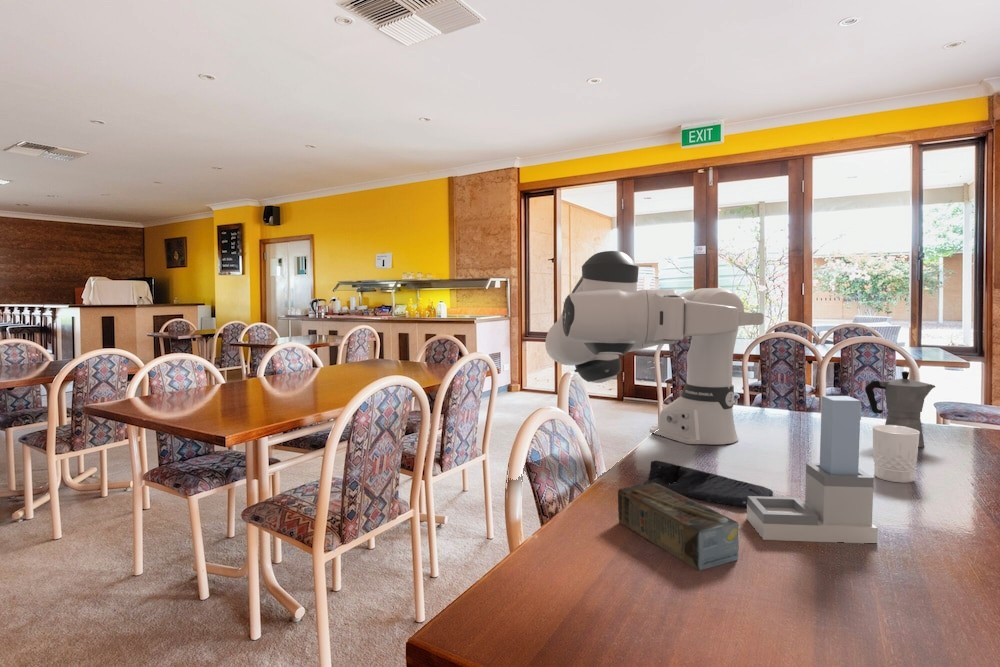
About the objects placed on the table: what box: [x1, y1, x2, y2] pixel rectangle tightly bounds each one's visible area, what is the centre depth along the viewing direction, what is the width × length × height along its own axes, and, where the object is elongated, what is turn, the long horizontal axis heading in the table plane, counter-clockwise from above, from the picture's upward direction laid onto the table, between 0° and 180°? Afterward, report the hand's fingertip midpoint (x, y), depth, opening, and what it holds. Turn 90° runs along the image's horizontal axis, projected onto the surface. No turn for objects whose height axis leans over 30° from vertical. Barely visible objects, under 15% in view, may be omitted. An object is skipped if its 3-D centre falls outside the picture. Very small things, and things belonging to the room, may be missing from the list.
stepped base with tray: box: [746, 462, 879, 544], centre depth 93 cm, size 16×8×10 cm, turn 83°
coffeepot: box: [864, 371, 936, 448], centre depth 144 cm, size 15×9×18 cm, turn 79°
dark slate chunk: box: [641, 459, 774, 507], centre depth 113 cm, size 15×22×5 cm
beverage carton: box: [617, 482, 740, 571], centre depth 90 cm, size 8×19×7 cm, turn 24°
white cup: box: [872, 424, 920, 484], centre depth 118 cm, size 8×8×10 cm
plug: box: [819, 395, 862, 475], centre depth 92 cm, size 5×4×13 cm
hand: (752, 317), depth 93 cm, fingers open, 8 cm apart
